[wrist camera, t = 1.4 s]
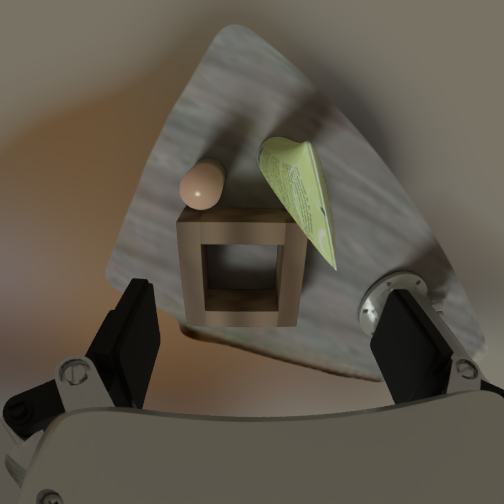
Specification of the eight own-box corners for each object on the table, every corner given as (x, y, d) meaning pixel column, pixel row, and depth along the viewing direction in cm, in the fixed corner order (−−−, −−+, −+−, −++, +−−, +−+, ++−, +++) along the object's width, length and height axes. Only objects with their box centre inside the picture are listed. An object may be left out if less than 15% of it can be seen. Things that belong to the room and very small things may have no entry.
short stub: (225, 158, 32) (221, 168, 26) (225, 191, 34) (221, 209, 28) (191, 158, 32) (178, 169, 26) (192, 191, 34) (180, 209, 27)
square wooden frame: (300, 209, 35) (309, 223, 31) (290, 303, 41) (296, 326, 37) (184, 207, 34) (176, 222, 30) (192, 303, 41) (187, 325, 36)
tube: (311, 154, 32) (390, 203, 15) (288, 189, 34) (336, 273, 16) (271, 127, 31) (309, 140, 13) (247, 164, 32) (253, 224, 15)
